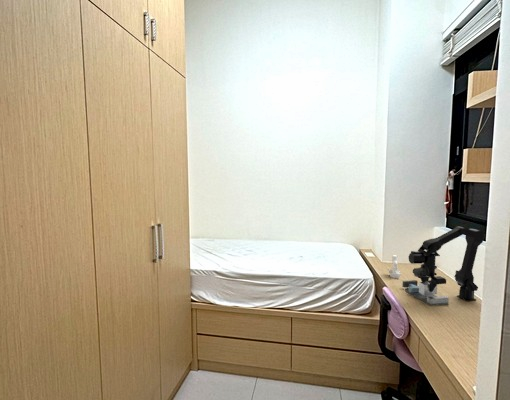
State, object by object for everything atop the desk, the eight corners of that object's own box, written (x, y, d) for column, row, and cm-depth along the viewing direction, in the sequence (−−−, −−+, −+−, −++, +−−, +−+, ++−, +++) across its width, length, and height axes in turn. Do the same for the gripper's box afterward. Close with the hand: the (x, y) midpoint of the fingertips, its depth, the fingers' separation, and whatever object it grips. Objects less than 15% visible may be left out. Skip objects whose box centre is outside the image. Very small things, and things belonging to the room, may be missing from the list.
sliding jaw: (417, 285, 178) (417, 280, 177) (428, 291, 169) (428, 285, 168) (401, 286, 176) (401, 281, 175) (411, 292, 167) (411, 286, 167)
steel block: (431, 291, 164) (431, 281, 164) (436, 294, 160) (437, 283, 160) (418, 292, 163) (419, 282, 163) (424, 295, 159) (424, 284, 159)
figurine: (389, 278, 193) (390, 256, 191) (387, 274, 202) (388, 253, 200) (401, 279, 190) (402, 257, 189) (398, 275, 199) (399, 254, 198)
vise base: (421, 289, 174) (421, 284, 173) (448, 304, 155) (448, 297, 154) (405, 291, 172) (405, 285, 172) (430, 305, 153) (430, 299, 152)
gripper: (404, 259, 168) (403, 285, 169) (429, 269, 150) (427, 298, 151) (421, 258, 170) (420, 283, 171) (447, 268, 152) (446, 296, 153)
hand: (427, 290), depth 162 cm, fingers closed on steel block, 4 cm apart
